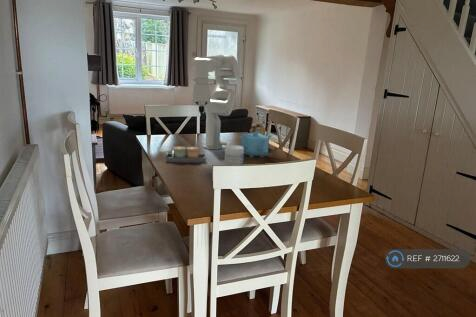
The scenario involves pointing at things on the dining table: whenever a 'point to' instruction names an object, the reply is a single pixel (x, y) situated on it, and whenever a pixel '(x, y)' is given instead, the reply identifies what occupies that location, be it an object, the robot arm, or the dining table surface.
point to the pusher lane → (178, 159)
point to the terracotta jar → (192, 152)
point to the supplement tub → (234, 155)
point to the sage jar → (180, 152)
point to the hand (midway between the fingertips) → (201, 112)
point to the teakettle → (255, 144)
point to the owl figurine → (257, 128)
